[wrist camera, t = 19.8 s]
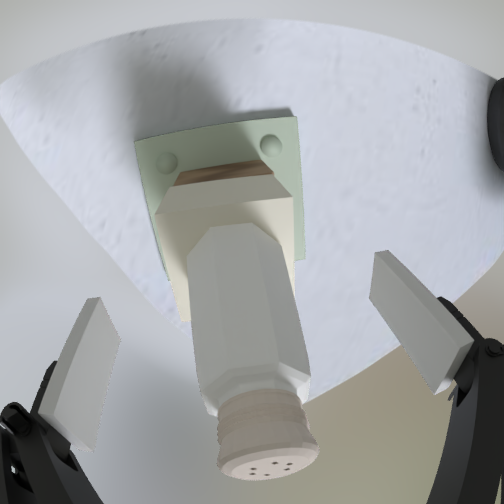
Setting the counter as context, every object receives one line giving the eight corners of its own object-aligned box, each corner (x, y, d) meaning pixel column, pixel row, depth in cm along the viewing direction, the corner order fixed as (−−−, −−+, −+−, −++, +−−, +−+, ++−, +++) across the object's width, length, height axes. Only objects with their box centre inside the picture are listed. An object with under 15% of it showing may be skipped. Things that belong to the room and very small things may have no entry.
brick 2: (272, 174, 19) (293, 197, 14) (276, 263, 22) (294, 307, 18) (169, 187, 19) (154, 214, 14) (186, 275, 22) (181, 322, 17)
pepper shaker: (258, 200, 14) (348, 393, 4) (298, 280, 17) (376, 455, 7) (166, 249, 15) (123, 456, 5) (217, 318, 17) (232, 498, 8)
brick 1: (261, 159, 24) (273, 172, 19) (268, 232, 27) (281, 261, 22) (180, 172, 24) (171, 188, 19) (195, 244, 27) (191, 275, 22)
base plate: (293, 116, 23) (297, 116, 22) (302, 254, 30) (306, 260, 29) (136, 140, 23) (133, 142, 21) (169, 275, 29) (168, 282, 28)
